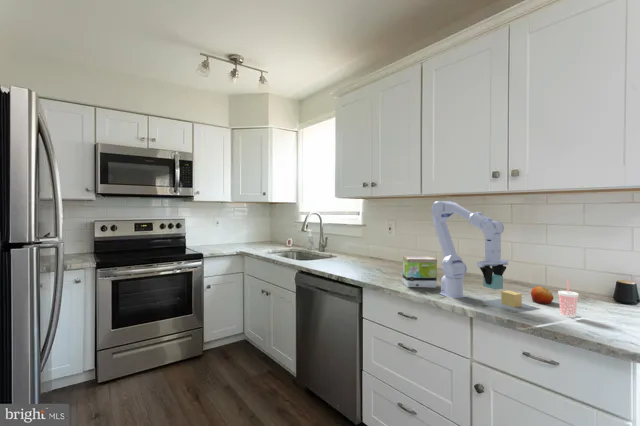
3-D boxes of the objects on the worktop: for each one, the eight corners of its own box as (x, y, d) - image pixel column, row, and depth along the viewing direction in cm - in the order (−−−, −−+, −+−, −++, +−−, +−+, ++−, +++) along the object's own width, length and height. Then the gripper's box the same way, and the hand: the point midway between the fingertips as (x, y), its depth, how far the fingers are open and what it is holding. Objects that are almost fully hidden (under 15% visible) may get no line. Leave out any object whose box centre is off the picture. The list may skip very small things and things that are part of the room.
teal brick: (483, 286, 137) (483, 274, 137) (490, 285, 139) (490, 273, 139) (495, 289, 132) (495, 277, 132) (502, 288, 133) (502, 276, 133)
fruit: (527, 295, 146) (538, 281, 143) (545, 308, 142) (557, 293, 139) (524, 299, 140) (535, 285, 137) (543, 312, 136) (555, 297, 133)
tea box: (407, 288, 167) (407, 258, 167) (402, 283, 177) (402, 255, 177) (437, 287, 167) (437, 258, 167) (430, 283, 177) (430, 255, 177)
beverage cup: (569, 313, 126) (569, 277, 126) (582, 319, 120) (583, 280, 120) (553, 314, 126) (554, 277, 125) (566, 319, 120) (566, 281, 119)
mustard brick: (501, 303, 138) (501, 291, 138) (508, 302, 140) (508, 290, 139) (514, 307, 133) (514, 294, 132) (521, 306, 134) (521, 293, 134)
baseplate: (480, 302, 141) (480, 301, 141) (505, 299, 146) (505, 298, 146) (514, 314, 126) (514, 312, 126) (540, 310, 131) (540, 308, 131)
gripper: (486, 252, 129) (486, 287, 129) (514, 250, 134) (514, 284, 134) (473, 250, 136) (473, 283, 136) (500, 248, 140) (500, 280, 141)
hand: (492, 283), depth 135 cm, fingers closed on teal brick, 4 cm apart
